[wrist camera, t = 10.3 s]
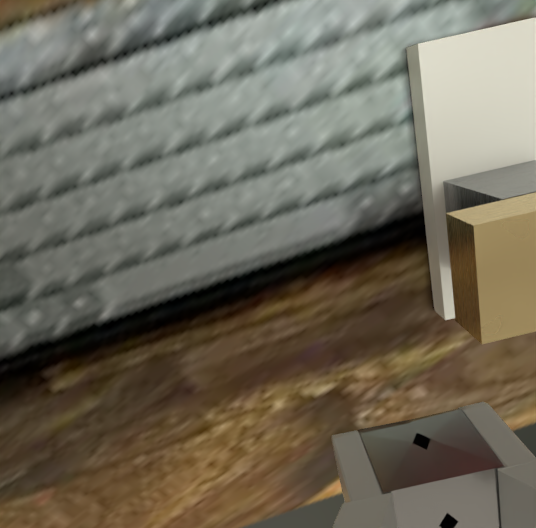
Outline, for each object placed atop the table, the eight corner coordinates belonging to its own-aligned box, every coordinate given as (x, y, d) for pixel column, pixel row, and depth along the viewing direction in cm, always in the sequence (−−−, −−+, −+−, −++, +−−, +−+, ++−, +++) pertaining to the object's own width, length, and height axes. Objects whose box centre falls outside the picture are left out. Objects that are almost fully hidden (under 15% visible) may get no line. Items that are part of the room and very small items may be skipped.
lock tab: (455, 320, 17) (481, 344, 15) (445, 213, 15) (473, 225, 14) (562, 295, 17) (601, 315, 15) (562, 186, 15) (604, 195, 14)
